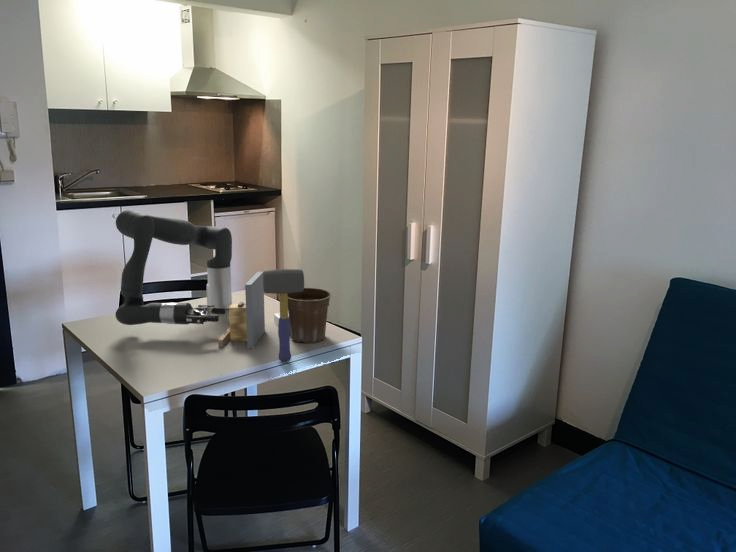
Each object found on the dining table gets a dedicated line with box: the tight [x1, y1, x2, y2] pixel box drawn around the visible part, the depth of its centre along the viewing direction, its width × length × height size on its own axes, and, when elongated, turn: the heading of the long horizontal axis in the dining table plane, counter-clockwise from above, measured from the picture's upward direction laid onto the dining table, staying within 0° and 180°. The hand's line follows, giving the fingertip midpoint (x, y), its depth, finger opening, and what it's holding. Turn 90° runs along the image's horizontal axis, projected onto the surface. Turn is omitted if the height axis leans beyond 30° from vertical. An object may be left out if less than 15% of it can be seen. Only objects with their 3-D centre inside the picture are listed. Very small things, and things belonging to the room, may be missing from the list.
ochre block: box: [228, 301, 247, 342], centre depth 209 cm, size 7×5×13 cm
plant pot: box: [288, 287, 332, 344], centre depth 210 cm, size 16×16×16 cm
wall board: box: [217, 271, 266, 349], centre depth 208 cm, size 12×18×22 cm, turn 177°
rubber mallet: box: [262, 268, 305, 364], centre depth 187 cm, size 12×8×30 cm, turn 104°
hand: (222, 314), depth 209 cm, fingers open, 8 cm apart
